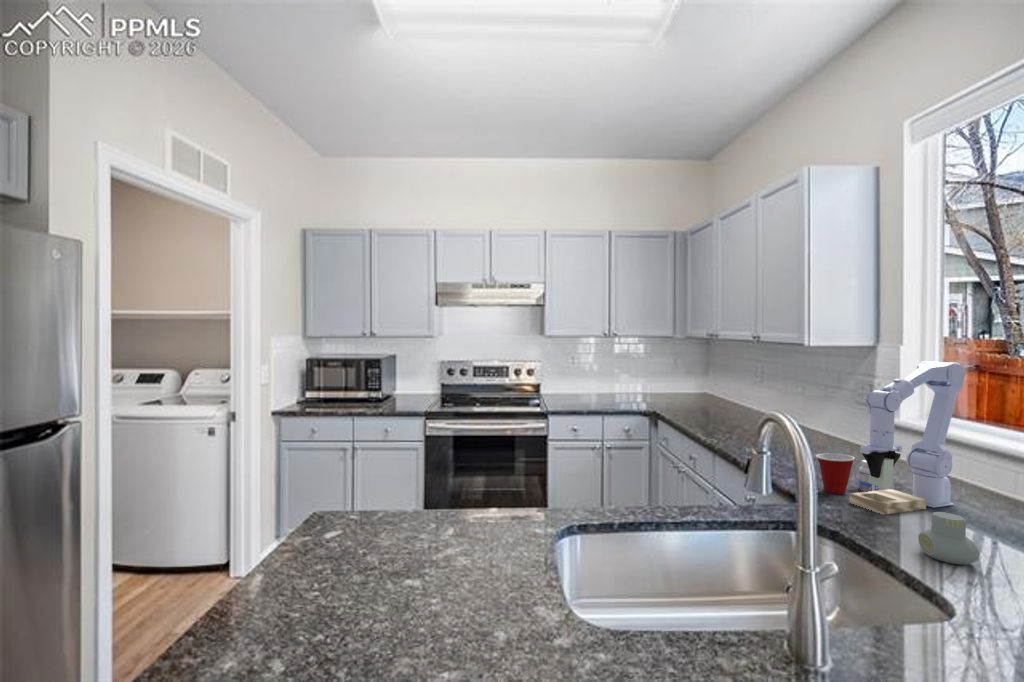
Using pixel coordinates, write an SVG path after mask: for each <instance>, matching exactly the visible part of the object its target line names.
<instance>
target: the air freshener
mask: <svg viewBox="0 0 1024 682" xmlns="http://www.w3.org/2000/svg"><path fill="white" fill-rule="evenodd" d="M930 524H931V526H930V527H931V528H930V529H925V530H923V531H921V532H920V533H919V534H918V537H917V538H918V539H917V540H918V544H919V546H920V548H921V550H922V551H923V552H924V553H925V554H926V555H928V556H929V557H930V558H931V559H933V558H934V559H933V560H936V561H939V562H942V561H943V562H944V563H946V564H952V565H961V566H962V565H970V564H973V563H975V562H977V561H978V560H979V559H980V550H979V548H978V547H977V544H976V543H975V542H974V541H973V540H972V539H970V538H969V537H967V534H966V533H967V532H966V530H967V529H966V528H967V520H966V518H964V517H962V516H960V515H958V514H953V513H950V512H946V511H945V512H944V511H934V512H933V513H931V523H930ZM943 562H942V563H943Z"/></svg>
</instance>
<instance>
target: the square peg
mask: <svg viewBox="0 0 1024 682" xmlns="http://www.w3.org/2000/svg"><path fill="white" fill-rule="evenodd" d="M893 465H894V460H893V459H889V458H885V459H884V460H883V463H882V466H881V473H880V477H879V478H876V477H872V476H871V474H870V484H873V485H876V486H879V488H882V489H884V488H892V487H893V486H894V468H893ZM894 466H895V465H894Z"/></svg>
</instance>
